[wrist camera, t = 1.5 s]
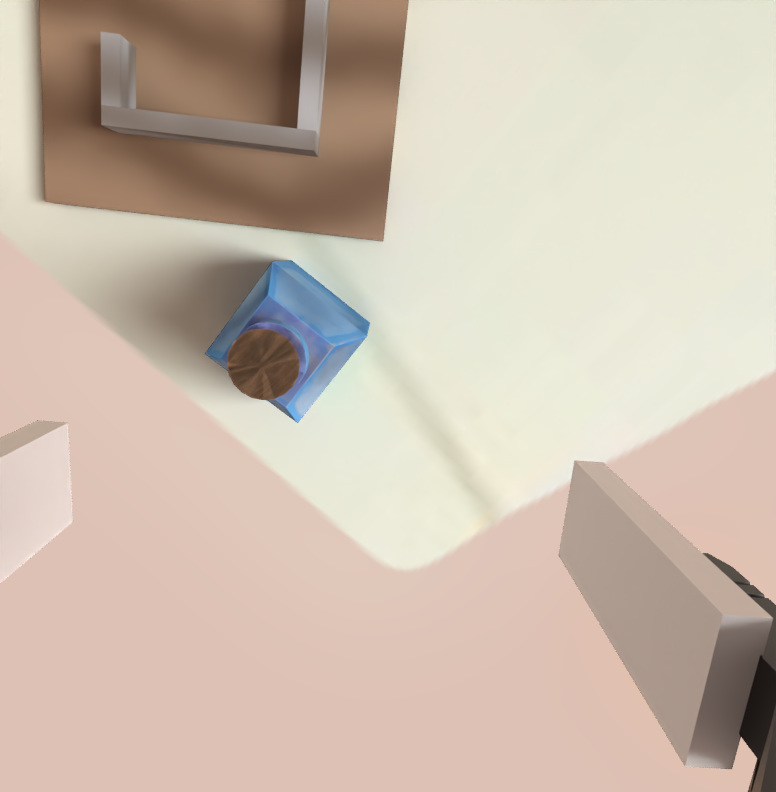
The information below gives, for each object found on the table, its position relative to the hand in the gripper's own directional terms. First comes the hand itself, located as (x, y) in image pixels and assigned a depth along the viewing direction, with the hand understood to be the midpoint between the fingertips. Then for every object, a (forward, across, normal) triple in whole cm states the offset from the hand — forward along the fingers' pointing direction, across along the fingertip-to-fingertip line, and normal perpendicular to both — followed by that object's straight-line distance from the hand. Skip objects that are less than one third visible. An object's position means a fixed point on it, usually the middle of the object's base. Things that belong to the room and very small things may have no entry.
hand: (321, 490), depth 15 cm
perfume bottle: (+23, -4, +1) cm, 23 cm away
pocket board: (+22, -9, +17) cm, 30 cm away
